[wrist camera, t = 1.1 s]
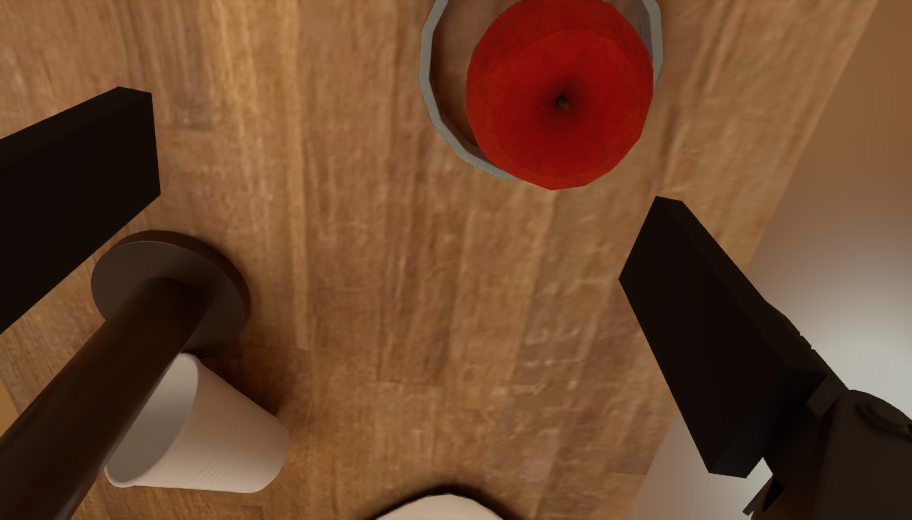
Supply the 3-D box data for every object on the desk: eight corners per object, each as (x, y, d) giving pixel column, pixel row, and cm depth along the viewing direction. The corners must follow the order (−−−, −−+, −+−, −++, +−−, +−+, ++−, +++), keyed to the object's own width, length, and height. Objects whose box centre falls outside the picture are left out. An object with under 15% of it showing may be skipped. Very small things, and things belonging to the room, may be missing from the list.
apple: (630, 92, 32) (698, 155, 23) (502, 157, 35) (519, 238, 25) (575, -55, 28) (632, -49, 19) (435, 30, 31) (426, 72, 21)
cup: (247, 404, 51) (143, 359, 44) (321, 397, 46) (219, 344, 39) (208, 516, 46) (82, 486, 38) (288, 521, 41) (161, 487, 33)
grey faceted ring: (374, 43, 31) (369, 49, 29) (572, -137, 26) (580, -142, 25) (508, 206, 37) (511, 219, 35) (690, 81, 32) (703, 89, 30)
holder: (63, 282, 40) (-466, 753, 17) (157, 192, 36) (-366, 647, 13) (194, 373, 45) (-80, 833, 22) (289, 303, 41) (77, 774, 18)
